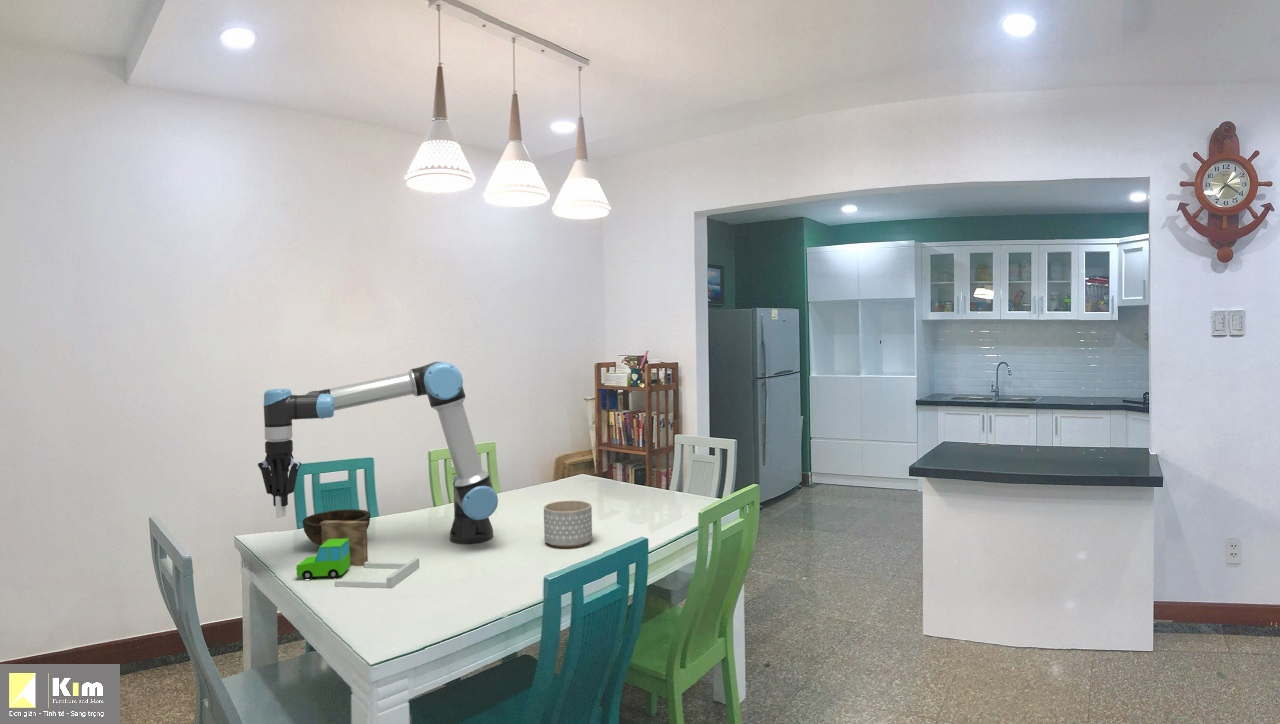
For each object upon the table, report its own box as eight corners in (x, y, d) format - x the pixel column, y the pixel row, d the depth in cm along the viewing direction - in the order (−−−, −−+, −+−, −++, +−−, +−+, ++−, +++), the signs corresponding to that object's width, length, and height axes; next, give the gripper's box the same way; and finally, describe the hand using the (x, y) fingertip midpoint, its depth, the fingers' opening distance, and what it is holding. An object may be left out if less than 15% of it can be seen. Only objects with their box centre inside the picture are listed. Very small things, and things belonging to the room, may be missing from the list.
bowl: (304, 558, 233) (303, 528, 233) (302, 542, 253) (301, 514, 252) (375, 548, 243) (374, 519, 243) (367, 533, 263) (366, 506, 262)
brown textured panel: (369, 563, 227) (368, 521, 227) (364, 566, 224) (363, 523, 224) (326, 562, 229) (324, 520, 229) (321, 565, 226) (319, 522, 226)
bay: (419, 567, 222) (419, 558, 222) (391, 588, 204) (391, 577, 204) (366, 566, 224) (366, 556, 224) (334, 586, 206) (334, 576, 206)
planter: (602, 541, 247) (601, 505, 246) (566, 552, 235) (565, 514, 234) (570, 533, 258) (569, 498, 257) (534, 543, 246) (533, 506, 245)
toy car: (307, 571, 221) (306, 539, 221) (351, 569, 222) (350, 537, 222) (294, 582, 211) (293, 549, 210) (340, 580, 212) (339, 547, 212)
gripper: (306, 438, 219) (308, 514, 220) (267, 437, 221) (269, 513, 222) (291, 441, 212) (293, 520, 213) (250, 441, 214) (253, 519, 215)
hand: (281, 516), depth 217 cm, fingers closed
